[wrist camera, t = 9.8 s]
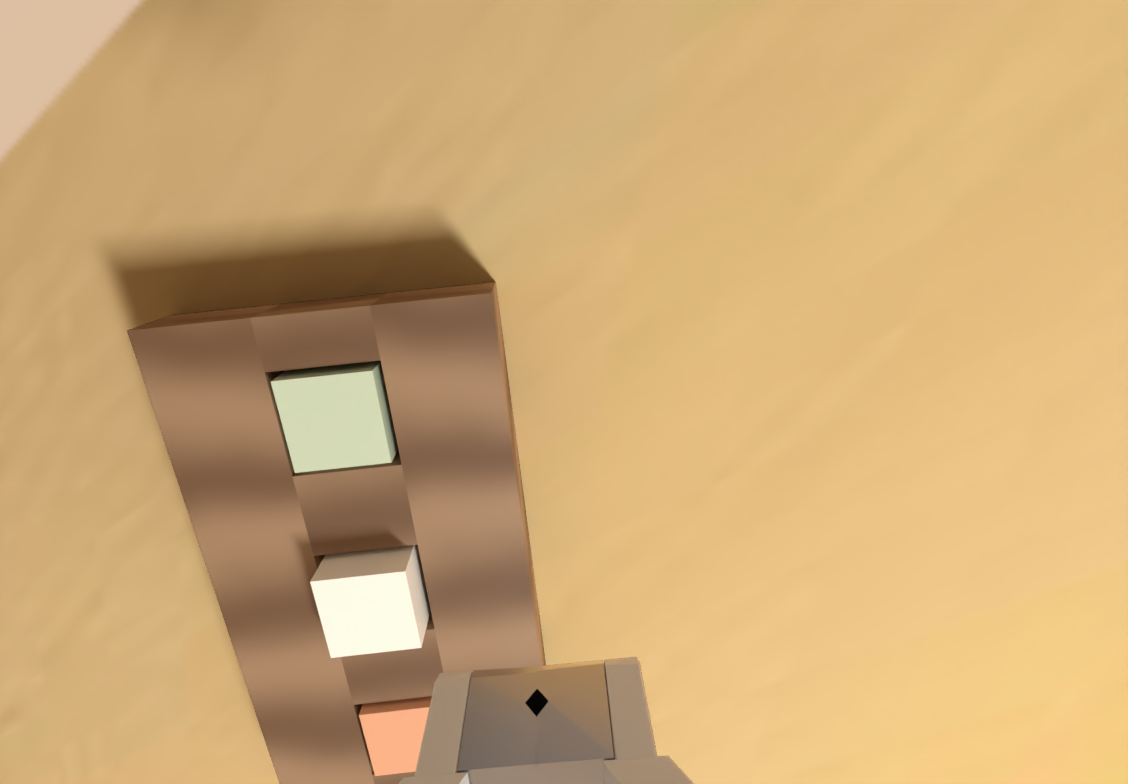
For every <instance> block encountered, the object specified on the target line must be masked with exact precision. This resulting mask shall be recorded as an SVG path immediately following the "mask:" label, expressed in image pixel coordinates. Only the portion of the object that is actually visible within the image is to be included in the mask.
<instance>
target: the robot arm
mask: <svg viewBox="0 0 1128 784" xmlns="http://www.w3.org/2000/svg"><path fill="white" fill-rule="evenodd" d="M398 784H694V783H693V782H692V781H691V780H690V779H689V778H688V776H687V775H686V774H685V773H684V772H683V771H682V770H681V769H680V768H679V767H678V766H677V765H676V764H675V763H674V761H673V760H672V759H671V758H670V757H669V756H657V752H656V746H655V741H654V736H653V730H652V725H651V720H650V714H649V709H648V704H647V698H646V693H645V688H644V682H643V677H642V672H641V666H640V662H639V660H638V659H637V657H629V658H618V659H608V660H604V662H603V660H597V661H587V662H576V663H566V664H555V665H544V666H539V667H524V668H506V669H489V670H473V671H467V672H448V673H440V674H439V676H438V677H437V679H436V681H435V684H434V688H433V693H432V698H431V702H430V707H429V711H428V716H427V720H426V725H425V730H424V734H423V739H422V743H421V748H420V753H419V757H418V762H417V766H416V771H415V775H414V776H412V777H404V778H403V779H402V780H401V781H400V782H399V783H398Z"/></svg>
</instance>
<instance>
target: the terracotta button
mask: <svg viewBox="0 0 1128 784" xmlns="http://www.w3.org/2000/svg"><path fill="white" fill-rule="evenodd" d="M431 698H432V696H428V697H419V698H411V699H402V700H393V701H384V702H375V703H367V704H362V707H361V710H360V713H359V718H360V721H361V725H362V729H363V733H364V736H365V740H366V744H367V748H368V751H369V755H370V759H371V763H372V766H373V770H374V774H375V776H381V775H390V774H398V773H407V772H415V771H416V766H417V762H418V757H419V753H420V748H421V743H422V739H423V734H424V730H425V725H426V720H427V716H428V711H429V707H430V702H431Z"/></svg>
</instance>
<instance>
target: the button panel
mask: <svg viewBox="0 0 1128 784" xmlns="http://www.w3.org/2000/svg"><path fill="white" fill-rule="evenodd" d="M127 332H128V335H129V338H130V341H131V344H132V347H133V350H134V353H135V356H136V359H137V362H138V365H139V368H140V371H141V374H142V377H143V380H144V383H145V386H146V388H147V391H148V394H149V397H150V400H151V403H152V406H153V409H154V412H155V415H156V418H157V421H158V424H159V427H160V430H161V433H162V436H163V439H164V442H165V445H166V448H167V451H168V454H169V457H170V460H171V463H172V466H173V469H174V472H175V475H176V478H177V481H178V484H179V486H180V489H181V492H182V495H183V498H184V501H185V504H186V507H187V510H188V513H189V516H190V519H191V522H192V525H193V528H194V531H195V534H196V537H197V540H198V543H199V546H200V549H201V552H202V555H203V558H204V561H205V564H206V567H207V570H208V573H209V576H210V579H211V581H212V584H213V587H214V590H215V593H216V596H217V599H218V602H219V605H220V608H221V611H222V614H223V617H224V620H225V623H226V626H227V629H228V632H229V635H230V638H231V641H232V644H233V647H234V650H235V653H236V656H237V659H238V662H239V665H240V668H241V671H242V674H243V677H244V679H245V682H246V685H247V688H248V691H249V694H250V697H251V700H252V703H253V706H254V709H255V712H256V715H257V718H258V721H259V724H260V727H261V730H262V733H263V736H264V739H265V742H266V745H267V748H268V751H269V754H270V757H271V760H272V763H273V766H274V769H275V772H276V774H277V777H278V780H279V783H280V784H398V783H399V782H400V781H401V780H402V779H403V778H404V777H412V776H414V775H415V772H407V773H398V774H390V775H381V776H375V774H374V770H373V766H372V763H371V759H370V755H369V751H368V748H367V744H366V740H365V736H364V733H363V729H362V725H361V721H360V718H359V713H360V710H361V707H362V704H367V703H375V702H384V701H393V700H402V699H411V698H419V697H428V696H432V693H433V688H434V684H435V681H436V679H437V677H438V676H439V674H440V673H448V672H467V671H473V670H489V669H506V668H524V667H539V666H544V665H546V663H545V655H544V647H543V640H542V632H541V624H540V617H539V609H538V601H537V594H536V586H535V579H534V571H533V563H532V556H531V548H530V540H529V533H528V525H527V518H526V510H525V502H524V495H523V487H522V479H521V472H520V464H519V456H518V449H517V441H516V434H515V426H514V418H513V411H512V403H511V395H510V388H509V380H508V372H507V365H506V357H505V350H504V342H503V334H502V327H501V319H500V311H499V304H498V296H497V289H496V282H490V283H480V284H471V285H461V286H451V287H441V288H432V289H422V290H412V291H402V292H393V293H383V294H373V295H363V296H354V297H344V298H334V299H325V300H315V301H305V302H295V303H286V304H276V305H266V306H256V307H247V308H237V309H227V310H217V311H208V312H198V313H188V314H178V315H171V316H168V317H165V318H162V319H159V320H156V321H153V322H151V323H148V324H145V325H142V326H139V327H136V328H133V329H130V330H127ZM379 360H381V365H382V370H383V375H384V380H385V385H386V390H387V395H388V400H389V405H390V410H391V415H392V420H393V425H394V429H395V434H396V439H397V444H398V451H397V453H396V455H395V457H394V459H393V461H392V463H384V464H375V465H365V466H356V467H347V468H337V469H328V470H319V471H309V472H300V473H295V472H294V468H293V464H292V460H291V457H290V453H289V449H288V445H287V441H286V438H285V434H284V430H283V426H282V423H281V419H280V415H279V411H278V408H277V404H276V400H275V396H274V392H273V389H272V385H271V381H272V380H273V379H275V378H276V377H277V376H279V375H280V374H281V373H283V372H284V371H286V370H293V369H303V368H312V367H322V366H332V365H341V364H351V363H360V362H370V361H379ZM417 544H418V549H419V554H420V559H421V564H422V569H423V574H424V579H425V584H426V589H427V594H428V599H429V604H430V609H431V611H430V615H429V619H428V623H427V627H426V631H425V635H424V640H423V644H422V648H416V649H407V650H398V651H389V652H380V653H371V654H362V655H353V656H345V657H336V658H331V656H330V653H329V649H328V645H327V642H326V638H325V634H324V631H323V627H322V624H321V620H320V616H319V613H318V609H317V605H316V602H315V598H314V594H313V591H312V587H311V583H310V581H311V579H312V577H313V576H314V574H315V572H316V570H317V569H318V567H319V565H320V563H321V562H322V560H323V558H324V556H325V555H326V554H335V553H344V552H353V551H363V550H372V549H381V548H390V547H399V546H408V545H417Z"/></svg>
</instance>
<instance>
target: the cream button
mask: <svg viewBox="0 0 1128 784" xmlns="http://www.w3.org/2000/svg"><path fill="white" fill-rule="evenodd" d="M310 583H311V587H312V591H313V594H314V598H315V602H316V605H317V609H318V613H319V616H320V620H321V624H322V627H323V631H324V634H325V638H326V642H327V645H328V649H329V653H330V656H331V658H336V657H345V656H353V655H362V654H371V653H380V652H389V651H398V650H407V649H416V648H422V644H423V640H424V635H425V631H426V627H427V623H428V619H429V615H430V611H431V609H430V604H429V599H428V594H427V589H426V584H425V579H424V574H423V569H422V564H421V559H420V554H419V549H418V544H417V545H408V546H399V547H390V548H381V549H372V550H363V551H353V552H344V553H335V554H326V555H325V556H324V558H323V560H322V562H321V563H320V565H319V567H318V569H317V570H316V572H315V574H314V576H313V577H312V579H311V581H310Z"/></svg>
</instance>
